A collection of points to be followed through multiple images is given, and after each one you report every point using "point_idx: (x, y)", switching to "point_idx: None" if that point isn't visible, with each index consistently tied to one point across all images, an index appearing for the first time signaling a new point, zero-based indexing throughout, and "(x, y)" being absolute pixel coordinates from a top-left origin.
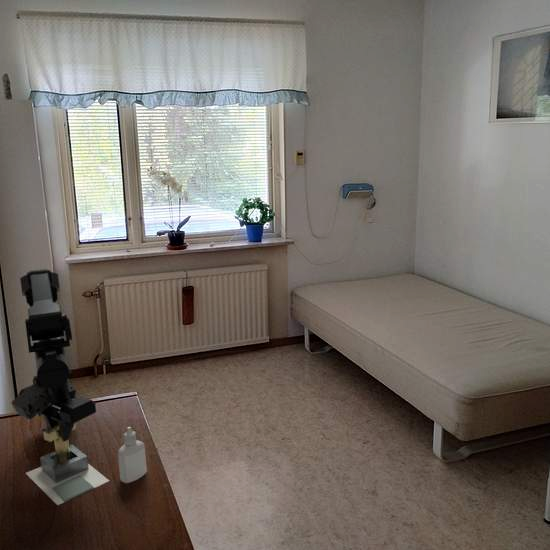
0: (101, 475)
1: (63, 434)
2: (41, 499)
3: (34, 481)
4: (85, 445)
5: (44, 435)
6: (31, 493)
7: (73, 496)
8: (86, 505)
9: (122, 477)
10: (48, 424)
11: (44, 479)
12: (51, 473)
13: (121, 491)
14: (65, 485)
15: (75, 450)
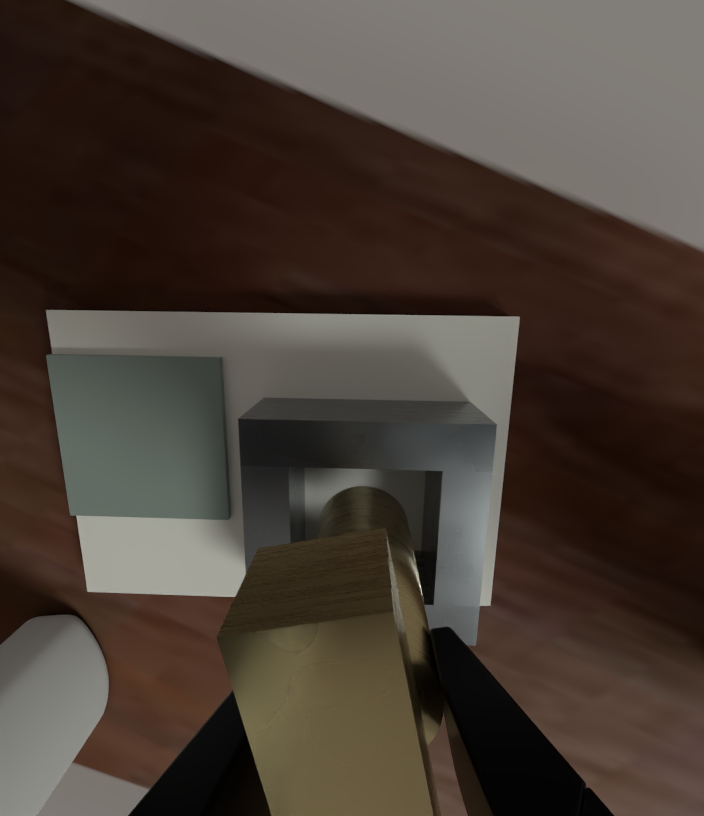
0: (161, 589)
1: (194, 739)
2: (222, 286)
3: (379, 316)
4: (544, 670)
5: (365, 570)
6: (320, 270)
7: (53, 404)
8: (14, 425)
9: (15, 645)
10: (535, 780)
11: (353, 368)
12: (307, 408)
13: (20, 583)
14: (188, 421)
15: None
